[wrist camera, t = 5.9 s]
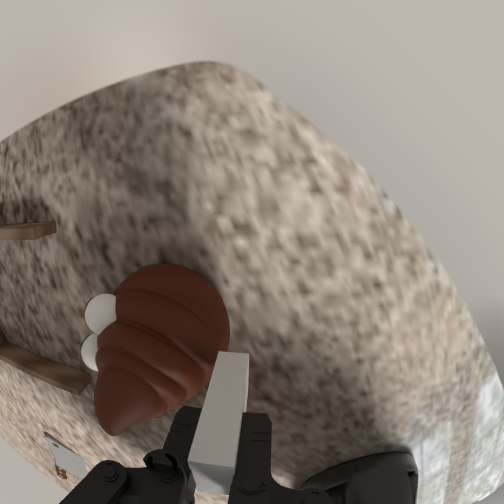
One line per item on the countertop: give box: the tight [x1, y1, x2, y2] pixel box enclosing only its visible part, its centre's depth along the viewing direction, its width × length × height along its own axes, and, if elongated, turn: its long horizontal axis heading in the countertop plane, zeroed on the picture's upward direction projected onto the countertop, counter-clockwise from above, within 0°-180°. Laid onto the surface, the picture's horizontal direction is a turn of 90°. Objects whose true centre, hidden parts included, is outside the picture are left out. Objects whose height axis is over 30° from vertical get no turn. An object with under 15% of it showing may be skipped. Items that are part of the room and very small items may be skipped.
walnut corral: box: [0, 222, 92, 395], centre depth 18 cm, size 16×15×2 cm
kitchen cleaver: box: [44, 434, 87, 479], centre depth 29 cm, size 24×1×10 cm
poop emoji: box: [81, 264, 230, 436], centre depth 13 cm, size 10×8×9 cm
